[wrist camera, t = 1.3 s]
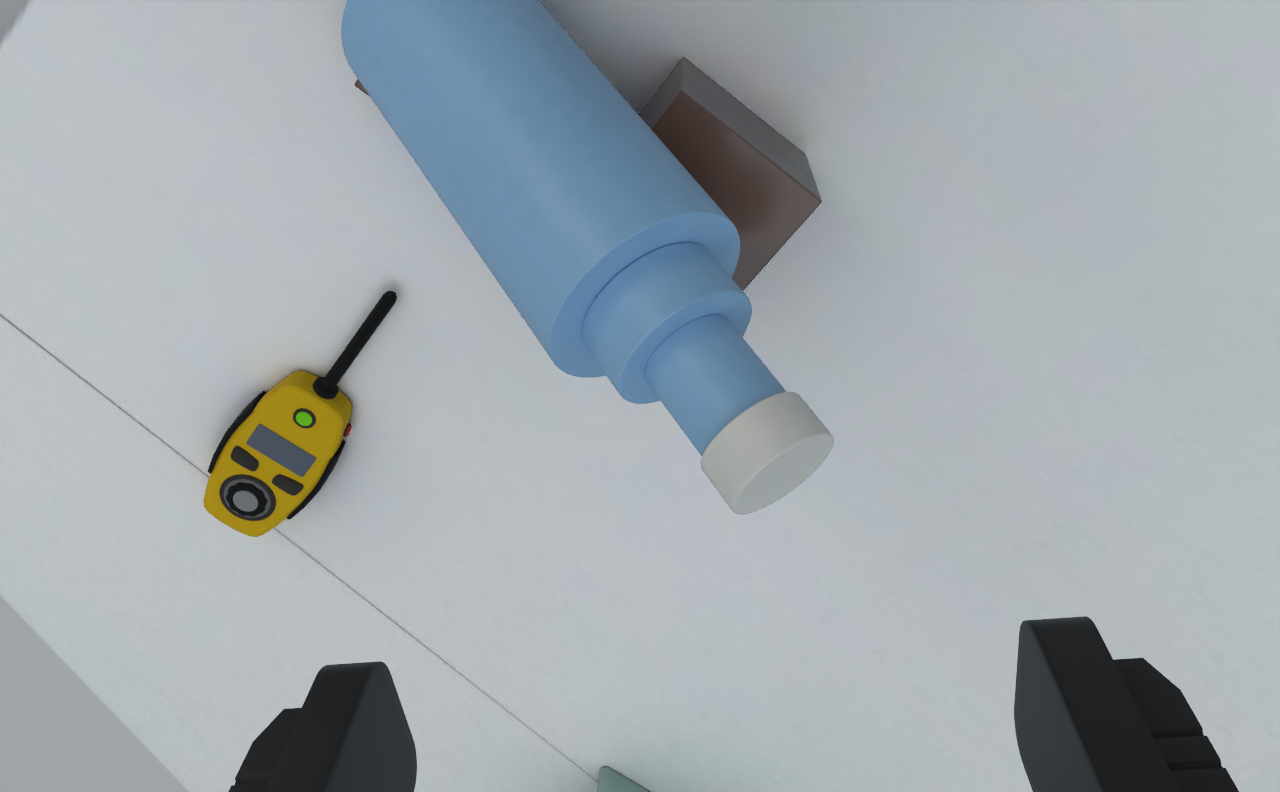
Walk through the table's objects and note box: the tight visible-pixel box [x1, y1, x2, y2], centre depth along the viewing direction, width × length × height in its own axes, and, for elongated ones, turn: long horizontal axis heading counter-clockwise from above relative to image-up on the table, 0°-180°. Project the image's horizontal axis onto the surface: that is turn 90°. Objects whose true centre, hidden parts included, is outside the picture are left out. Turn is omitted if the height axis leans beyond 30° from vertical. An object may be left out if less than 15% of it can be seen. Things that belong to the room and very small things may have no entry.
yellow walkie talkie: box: [204, 291, 397, 537], centre depth 44 cm, size 5×2×15 cm
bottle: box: [342, 0, 834, 514], centre depth 30 cm, size 18×6×18 cm, turn 53°
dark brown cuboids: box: [355, 57, 822, 291], centre depth 35 cm, size 8×15×6 cm, turn 53°
